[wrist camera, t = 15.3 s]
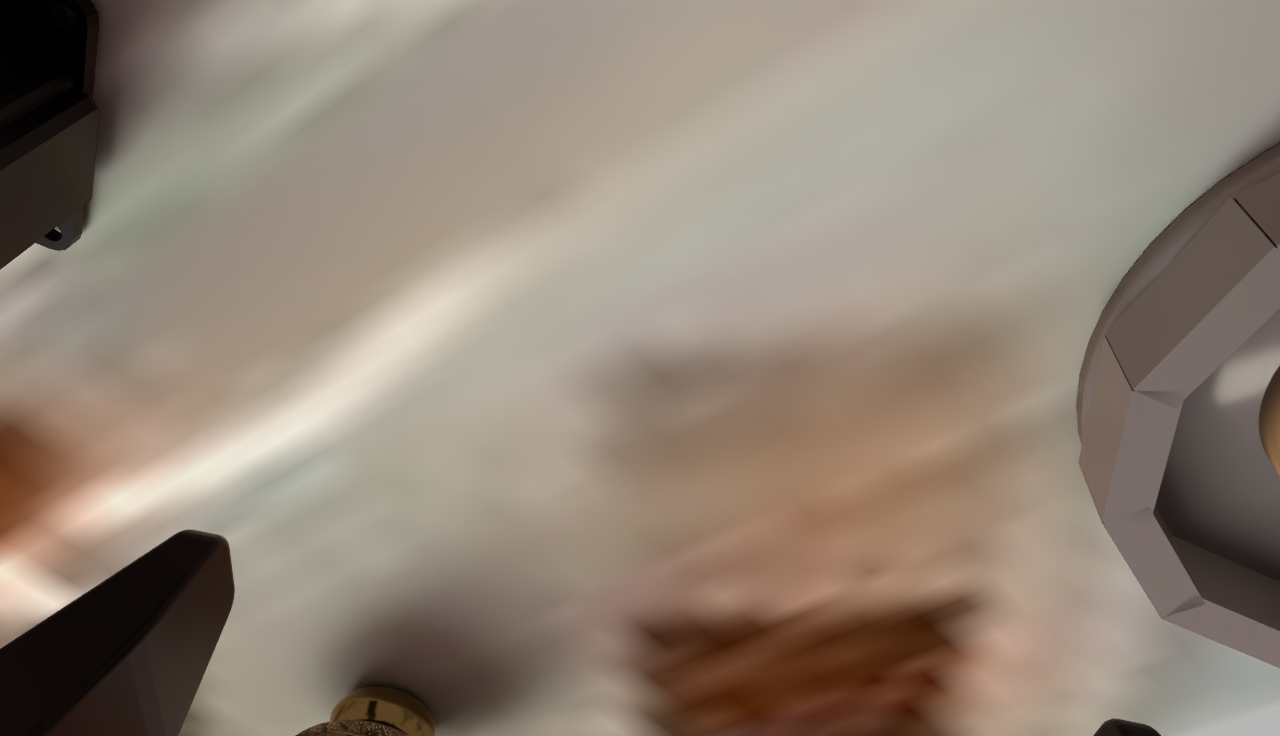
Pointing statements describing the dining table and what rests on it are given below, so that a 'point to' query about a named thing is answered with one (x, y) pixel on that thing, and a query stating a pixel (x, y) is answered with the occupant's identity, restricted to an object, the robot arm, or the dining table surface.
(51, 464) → the dining table surface
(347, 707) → the cup
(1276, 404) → the disc
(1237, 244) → the round tray
